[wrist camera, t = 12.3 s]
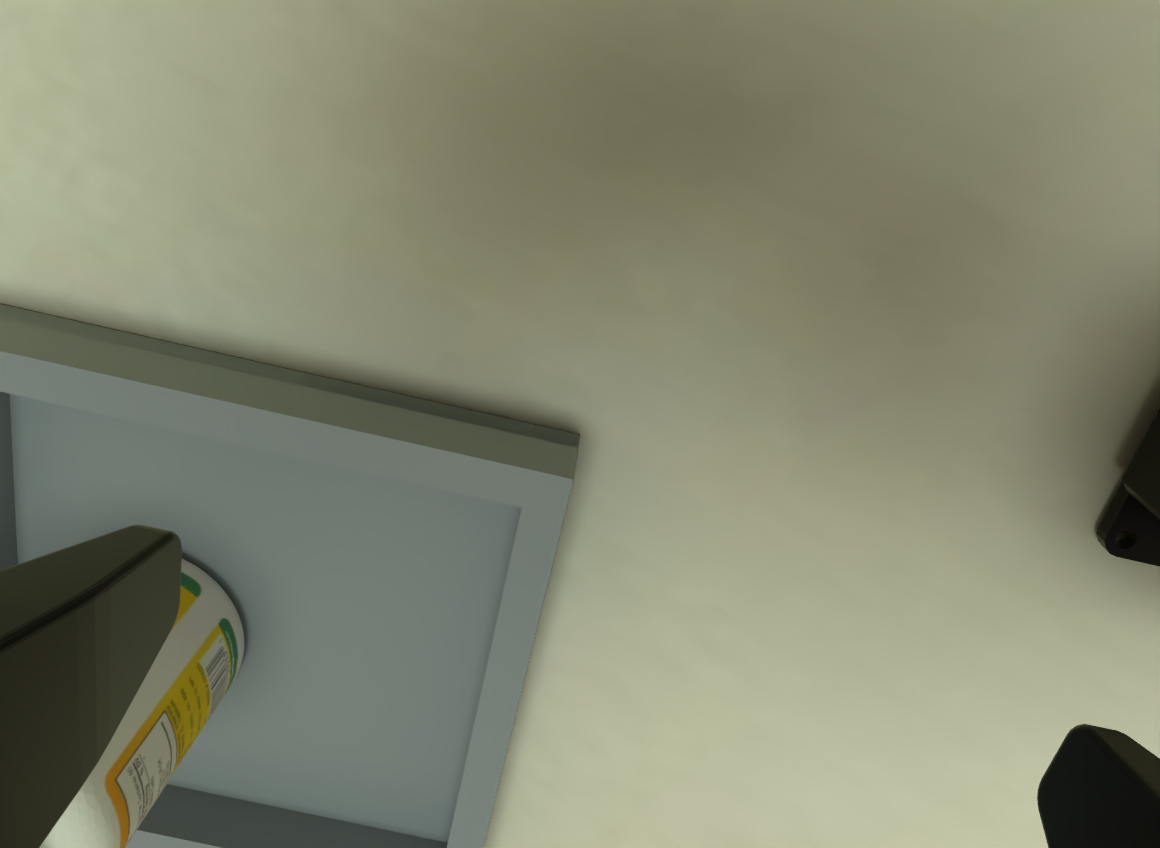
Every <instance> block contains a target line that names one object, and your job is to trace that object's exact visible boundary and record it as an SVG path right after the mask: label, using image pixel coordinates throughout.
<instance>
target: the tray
mask: <svg viewBox="0 0 1160 848" xmlns="http://www.w3.org/2000/svg"><path fill="white" fill-rule="evenodd" d="M579 437H580V435H579V434H574V433H570V432H565V431H561V430H556V429H552V428H548V427H543V426H539V425H534V424H530V423H525V422H521V421H517V420H512V419H508V418H503V417H499V416H494V415H490V414H486V413H481V412H477V411H472V410H468V409H463V408H459V407H455V406H450V405H446V404H441V403H437V402H432V401H428V400H424V399H419V398H415V397H410V396H406V395H401V394H397V393H393V392H388V391H384V390H379V389H375V388H370V387H366V386H362V385H357V384H353V383H348V382H344V381H339V380H335V379H331V378H326V377H322V376H317V375H313V374H308V373H304V372H300V371H295V370H291V369H286V368H282V367H277V366H273V365H269V364H264V363H260V362H255V361H251V360H246V359H242V358H238V357H233V356H229V355H224V354H220V353H215V352H211V351H207V350H202V349H198V348H193V347H189V346H184V345H180V344H176V343H171V342H167V341H162V340H158V339H153V338H149V337H145V336H140V335H136V334H131V333H127V332H122V331H118V330H114V329H109V328H105V327H100V326H96V325H91V324H87V323H83V322H78V321H74V320H69V319H65V318H60V317H56V316H52V315H47V314H43V313H38V312H34V311H29V310H25V309H21V308H16V307H12V306H7V305H3V304H0V570H3V569H6V568H8V567H11V566H14V565H17V564H20V563H23V562H26V561H29V560H32V559H35V558H38V557H41V556H43V555H46V554H49V553H52V552H55V551H58V550H61V549H64V548H67V547H70V546H73V545H76V544H78V543H81V542H84V541H87V540H90V539H93V538H96V537H99V536H102V535H105V534H108V533H111V532H113V531H116V530H119V529H122V528H125V527H128V526H131V525H145V526H149V527H154V528H159V529H163V530H168V531H173V532H175V533H176V534H177V535H178V536H179V537H180V540H181V544H182V559H184V560H186V561H188V562H190V563H192V564H193V565H195V566H197V567H198V568H200V569H201V570H203V571H204V572H205V573H207V574H208V575H209V576H210V577H211V578H213V579H214V580H215V581H216V582H217V583H218V584H219V585H220V586H221V588H222V589H223V590H224V591H225V592H226V594H227V595H228V596H229V598H230V599H231V601H232V603H233V604H234V606H235V608H236V610H237V612H238V614H239V617H240V620H241V623H242V628H243V633H244V653H243V659H242V662H241V665H240V668H239V671H238V673H237V675H236V677H235V679H234V681H233V682H232V684H231V685H230V687H229V689H228V691H227V692H226V694H225V695H224V697H223V699H222V700H221V702H220V703H219V705H218V706H217V708H216V709H215V711H214V712H213V714H212V716H211V717H210V719H209V720H208V721H207V723H206V724H205V726H204V727H203V729H202V730H201V732H200V733H199V735H198V736H197V738H196V740H195V741H194V743H193V744H192V746H191V747H190V749H189V750H188V752H187V753H186V755H185V756H184V758H183V759H182V761H181V762H180V764H179V766H178V767H177V769H176V770H175V772H174V773H173V775H172V776H171V778H170V779H169V781H168V783H167V784H166V786H165V787H164V789H163V790H162V792H161V794H160V795H159V797H158V798H157V800H156V802H155V803H154V804H153V806H152V807H151V809H150V810H149V812H148V813H147V815H146V817H145V818H144V820H143V821H142V823H141V824H140V826H139V827H138V829H137V831H136V832H135V834H134V835H133V837H132V838H131V840H130V841H129V843H128V844H127V846H126V847H125V848H483V847H484V843H485V839H486V835H487V831H488V827H489V823H490V819H491V814H492V810H493V806H494V802H495V798H496V794H497V790H498V786H499V782H500V778H501V774H502V769H503V765H504V761H505V757H506V753H507V749H508V745H509V741H510V737H511V733H512V729H513V725H514V720H515V716H516V712H517V708H518V704H519V700H520V696H521V692H522V688H523V684H524V680H525V675H526V671H527V667H528V663H529V659H530V655H531V651H532V647H533V643H534V639H535V635H536V631H537V626H538V622H539V618H540V614H541V610H542V606H543V602H544V598H545V594H546V590H547V586H548V581H549V577H550V573H551V569H552V565H553V561H554V557H555V553H556V549H557V545H558V541H559V536H560V532H561V528H562V524H563V520H564V516H565V512H566V508H567V504H568V500H569V496H570V492H571V487H572V483H573V479H574V472H575V465H576V458H577V451H578V444H579Z"/></svg>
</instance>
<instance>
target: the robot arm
mask: <svg viewBox="0 0 1160 848" xmlns="http://www.w3.org/2000/svg"><path fill="white" fill-rule="evenodd" d="M1124 531H1128V534H1127V535H1126V536H1125V537H1124V538H1122V539H1120V540H1115V539H1116V537H1117V536H1118V535H1119V534H1120V533H1122V532H1124ZM1097 538H1098V541H1099V542H1100V543H1101V545H1102V546H1103V547H1104V548H1105V549H1106V550H1107V551H1108V552H1109V553H1110V554H1112V555H1114V556H1116V557H1121V558H1125V559H1130V560H1134V561H1138V562H1143V563H1147V564H1152V565H1156V566H1160V409H1159V411H1158V413H1157V415H1156V417H1155V419H1154V421H1153V423H1152V424H1151V426H1150V428H1149V430H1148V432H1147V434H1146V436H1145V438H1144V439H1143V441H1142V443H1141V445H1140V447H1139V449H1138V451H1137V453H1136V454H1135V456H1134V458H1133V460H1132V462H1131V464H1130V466H1129V468H1128V469H1127V471H1126V473H1125V475H1124V477H1123V483H1122V485H1121V487H1120V488H1119V490H1118V492H1117V494H1116V496H1115V498H1114V500H1113V502H1112V503H1111V505H1110V507H1109V509H1108V511H1107V513H1106V515H1105V517H1104V518H1103V520H1102V522H1101V524H1100V526H1099V528H1098V532H1097ZM181 561H182V544H181V540H180V537H179V536H178V535H177V534H176V533H175V532H173V531H168V530H163V529H159V528H154V527H149V526H145V525H131V526H128V527H125V528H122V529H119V530H116V531H113V532H111V533H108V534H105V535H102V536H99V537H96V538H93V539H90V540H87V541H84V542H81V543H78V544H76V545H73V546H70V547H67V548H64V549H61V550H58V551H55V552H52V553H49V554H46V555H43V556H41V557H38V558H35V559H32V560H29V561H26V562H23V563H20V564H17V565H14V566H11V567H8V568H6V569H3V570H0V848H40V846H41V845H42V843H43V842H44V840H45V839H46V838H47V836H48V835H49V833H50V832H51V830H52V829H53V828H54V826H55V825H56V823H57V822H58V820H59V819H60V818H61V816H62V815H63V813H64V812H65V810H66V809H67V808H68V806H69V805H70V803H71V802H72V800H73V799H74V798H75V796H76V795H77V793H78V792H79V790H80V789H81V788H82V786H83V785H84V783H85V782H86V780H87V778H88V777H89V775H90V774H91V772H92V771H93V769H94V768H95V766H96V765H97V763H98V762H99V760H100V758H101V756H102V755H103V753H104V751H105V750H106V748H107V746H108V744H109V743H110V741H111V739H112V737H113V736H114V734H115V732H116V730H117V728H118V726H119V725H120V723H121V721H122V719H123V717H124V716H125V714H126V712H127V710H128V708H129V706H130V705H131V703H132V701H133V699H134V697H135V696H136V694H137V692H138V690H139V688H140V686H141V685H142V683H143V681H144V679H145V677H146V675H147V674H148V672H149V670H150V668H151V666H152V665H153V663H154V661H155V659H156V657H157V655H158V654H159V652H160V650H161V648H162V646H163V644H164V643H165V641H166V639H167V637H168V635H169V634H170V632H171V630H172V628H173V626H174V624H175V621H176V618H177V615H178V612H179V606H180V591H181ZM1037 799H1038V809H1039V813H1040V817H1041V821H1042V824H1043V828H1044V832H1045V836H1046V840H1047V843H1048V847H1049V848H1160V759H1159V758H1158V757H1156V756H1155V755H1154V754H1152V753H1151V752H1149V751H1148V750H1147V749H1145V748H1144V747H1143V746H1141V745H1140V744H1138V743H1137V742H1136V741H1134V740H1133V739H1131V738H1130V737H1129V736H1127V735H1125V734H1124V733H1121V732H1119V731H1116V730H1111V729H1106V728H1102V727H1097V726H1092V725H1087V724H1082V725H1077V726H1075V727H1074V728H1073V729H1071V730H1070V731H1069V733H1068V734H1067V736H1066V737H1065V739H1064V741H1063V743H1062V744H1061V746H1060V748H1059V750H1058V751H1057V753H1056V755H1055V757H1054V758H1053V760H1052V762H1051V763H1050V765H1049V767H1048V769H1047V770H1046V772H1045V774H1044V776H1043V777H1042V779H1041V782H1040V784H1039V788H1038V796H1037Z"/></svg>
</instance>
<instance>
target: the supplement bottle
mask: <svg viewBox="0 0 1160 848" xmlns="http://www.w3.org/2000/svg"><path fill="white" fill-rule="evenodd" d="M243 653H244V633H243V628H242V623H241V620H240V617H239V614H238V612H237V610H236V608H235V606H234V604H233V603H232V601H231V599H230V598H229V596H228V595H227V594H226V592H225V591H224V590H223V589H222V588H221V586H220V585H219V584H218V583H217V582H216V581H215V580H214V579H213V578H211V577H210V576H209V575H208V574H207V573H205V572H204V571H203V570H201V569H200V568H198V567H197V566H195V565H193V564H192V563H190V562H188V561H186V560H184V559H182V561H181V591H180V606H179V612H178V615H177V618H176V621H175V624H174V626H173V628H172V630H171V632H170V634H169V635H168V637H167V639H166V641H165V643H164V644H163V646H162V648H161V650H160V652H159V654H158V655H157V657H156V659H155V661H154V663H153V665H152V666H151V668H150V670H149V672H148V674H147V675H146V677H145V679H144V681H143V683H142V685H141V686H140V688H139V690H138V692H137V694H136V696H135V697H134V699H133V701H132V703H131V705H130V706H129V708H128V710H127V712H126V714H125V716H124V717H123V719H122V721H121V723H120V725H119V726H118V728H117V730H116V732H115V734H114V736H113V737H112V739H111V741H110V743H109V744H108V746H107V748H106V750H105V751H104V753H103V755H102V756H101V758H100V760H99V762H98V763H97V765H96V766H95V768H94V769H93V771H92V772H91V774H90V775H89V777H88V778H87V780H86V782H85V783H84V785H83V786H82V788H81V789H80V790H79V792H78V793H77V795H76V796H75V798H74V799H73V800H72V802H71V803H70V805H69V806H68V808H67V809H66V810H65V812H64V813H63V815H62V816H61V818H60V819H59V820H58V822H57V823H56V825H55V826H54V828H53V829H52V830H51V832H50V833H49V835H48V836H47V838H46V839H45V840H44V842H43V843H42V845H41V846H40V848H125V847H126V846H127V844H128V843H129V841H130V840H131V838H132V837H133V835H134V834H135V832H136V831H137V829H138V827H139V826H140V824H141V823H142V821H143V820H144V818H145V817H146V815H147V813H148V812H149V810H150V809H151V807H152V806H153V804H154V803H155V802H156V800H157V798H158V797H159V795H160V794H161V792H162V790H163V789H164V787H165V786H166V784H167V783H168V781H169V779H170V778H171V776H172V775H173V773H174V772H175V770H176V769H177V767H178V766H179V764H180V762H181V761H182V759H183V758H184V756H185V755H186V753H187V752H188V750H189V749H190V747H191V746H192V744H193V743H194V741H195V740H196V738H197V736H198V735H199V733H200V732H201V730H202V729H203V727H204V726H205V724H206V723H207V721H208V720H209V719H210V717H211V716H212V714H213V712H214V711H215V709H216V708H217V706H218V705H219V703H220V702H221V700H222V699H223V697H224V695H225V694H226V692H227V691H228V689H229V687H230V685H231V684H232V682H233V681H234V679H235V677H236V675H237V673H238V671H239V668H240V665H241V662H242V659H243Z"/></svg>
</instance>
